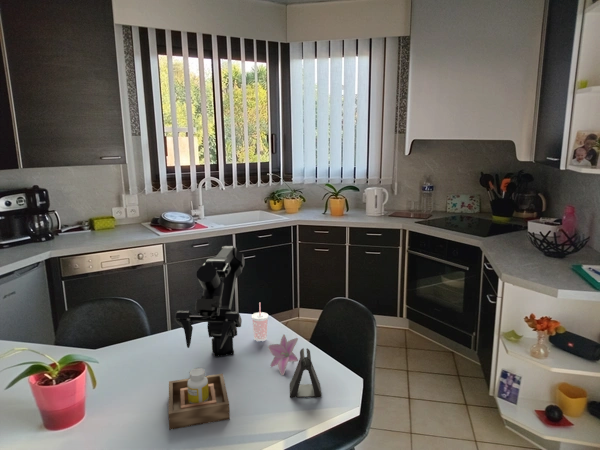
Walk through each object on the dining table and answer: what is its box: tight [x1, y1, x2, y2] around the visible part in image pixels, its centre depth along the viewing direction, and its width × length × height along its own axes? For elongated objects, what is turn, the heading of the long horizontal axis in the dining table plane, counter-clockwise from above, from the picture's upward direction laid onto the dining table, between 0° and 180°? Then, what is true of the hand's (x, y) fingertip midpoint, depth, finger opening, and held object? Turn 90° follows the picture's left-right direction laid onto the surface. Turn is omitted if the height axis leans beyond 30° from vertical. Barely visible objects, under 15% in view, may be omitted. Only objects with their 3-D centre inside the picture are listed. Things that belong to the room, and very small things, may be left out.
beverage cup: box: [251, 302, 269, 342], centre depth 154 cm, size 6×6×14 cm
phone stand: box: [289, 347, 322, 399], centre depth 122 cm, size 9×6×12 cm, turn 91°
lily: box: [267, 334, 299, 376], centre depth 136 cm, size 12×12×10 cm
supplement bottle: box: [187, 367, 209, 404], centre depth 115 cm, size 5×5×10 cm
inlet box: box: [167, 373, 231, 431], centre depth 115 cm, size 15×15×4 cm
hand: (204, 347), depth 121 cm, fingers open, 9 cm apart
